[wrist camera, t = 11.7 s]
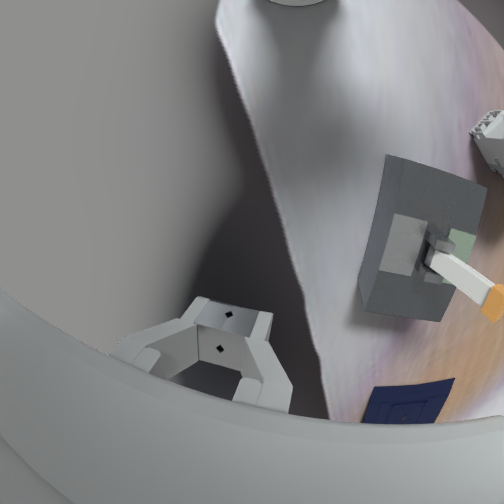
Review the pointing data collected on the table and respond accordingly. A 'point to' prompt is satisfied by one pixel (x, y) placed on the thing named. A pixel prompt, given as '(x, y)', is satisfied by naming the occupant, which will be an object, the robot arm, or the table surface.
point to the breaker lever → (468, 282)
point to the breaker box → (417, 238)
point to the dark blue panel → (407, 403)
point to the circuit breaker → (491, 139)
